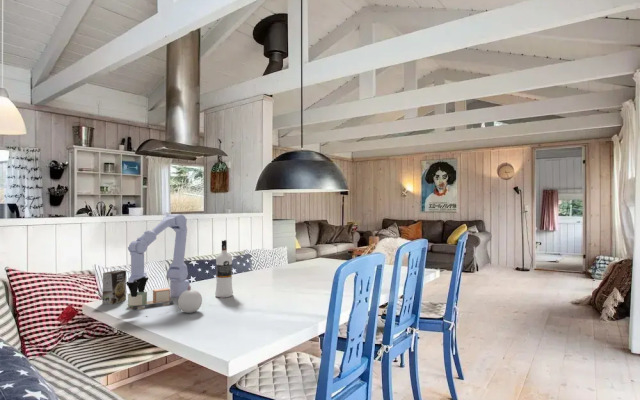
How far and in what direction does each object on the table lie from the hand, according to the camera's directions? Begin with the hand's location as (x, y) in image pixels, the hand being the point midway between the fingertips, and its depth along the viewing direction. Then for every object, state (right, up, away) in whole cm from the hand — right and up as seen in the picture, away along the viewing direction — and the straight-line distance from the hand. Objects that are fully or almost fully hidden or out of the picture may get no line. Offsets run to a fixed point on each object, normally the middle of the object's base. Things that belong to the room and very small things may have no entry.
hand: (137, 294), depth 182 cm
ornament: (+28, -6, -8) cm, 30 cm away
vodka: (+35, -7, +24) cm, 43 cm away
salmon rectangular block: (+8, -5, +7) cm, 12 cm away
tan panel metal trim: (+5, -6, +2) cm, 8 cm away
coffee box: (-15, -7, +7) cm, 18 cm away
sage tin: (0, -5, 0) cm, 5 cm away
